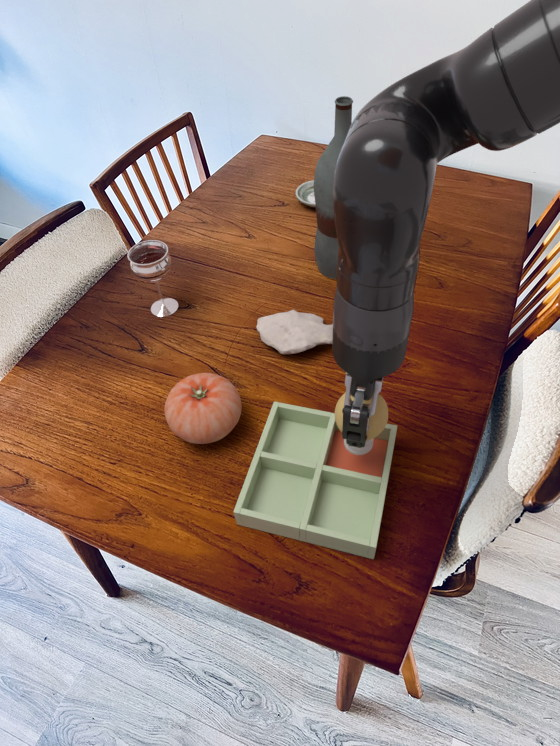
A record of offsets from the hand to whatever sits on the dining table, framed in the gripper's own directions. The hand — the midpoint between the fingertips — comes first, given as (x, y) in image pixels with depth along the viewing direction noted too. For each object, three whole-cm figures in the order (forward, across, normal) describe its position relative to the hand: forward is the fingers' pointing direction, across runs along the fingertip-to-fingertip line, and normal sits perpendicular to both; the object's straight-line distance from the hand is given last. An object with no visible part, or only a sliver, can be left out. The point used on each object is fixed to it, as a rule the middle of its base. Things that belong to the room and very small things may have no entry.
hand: (361, 419), depth 63 cm
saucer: (+10, +62, +20) cm, 66 cm away
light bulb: (+6, 0, 0) cm, 6 cm away
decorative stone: (+10, +21, +14) cm, 27 cm away
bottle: (+10, +41, +11) cm, 44 cm away
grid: (+10, -4, +4) cm, 11 cm away
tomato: (+10, +1, +22) cm, 24 cm away
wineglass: (+10, +23, +39) cm, 46 cm away
